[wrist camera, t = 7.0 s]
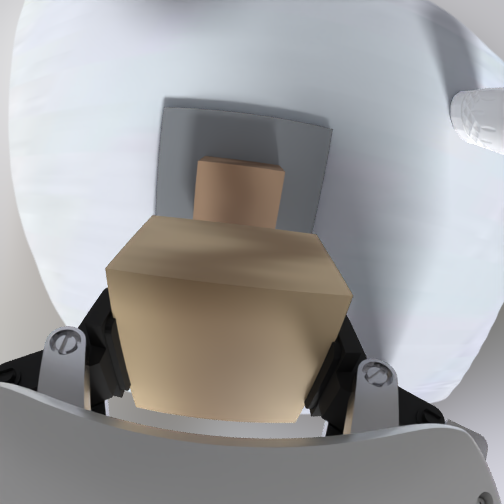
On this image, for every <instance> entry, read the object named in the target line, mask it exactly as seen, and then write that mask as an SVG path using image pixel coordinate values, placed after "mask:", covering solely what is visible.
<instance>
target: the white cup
mask: <svg viewBox="0 0 504 504" xmlns="http://www.w3.org/2000/svg"><path fill="white" fill-rule="evenodd" d="M450 117H451V120H452V124H453V127H454V129H455V131H456V132H457V134H458V135H459V137H460V138H461V139H463V140H464V141H466V142H468V143H471V144H475V145H478V146H480V147H483V148H486V149H489V150H491V151H494V152H497V153H500V154H503V155H504V87H503V88H484V89H476V90H471V91H460V92H458V93H457V94H456V95H455V96H454V97H453V99H452V102H451V105H450Z"/></svg>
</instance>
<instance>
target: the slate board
mask: <svg viewBox="0 0 504 504" xmlns="http://www.w3.org/2000/svg"><path fill="white" fill-rule="evenodd" d="M332 131H333V129H330V128H326V127H321V126H317V125H312V124H308V123H303V122H298V121H292V120H287V119H281V118H275V117H269V116H263V115H256V114H248V113H240V112H231V111H221V110H210V109H196V108H175V107H164V111H163V119H162V128H161V138H160V149H159V162H158V177H157V197H156V216H165V217H175V218H185V219H193V211H194V198H195V187H196V176H197V166H198V161H199V160H200V159H201V158H203V157H204V156H209V157H219V158H228V159H237V160H245V161H252V162H260V163H267V164H273V165H279V166H280V167H281V168H282V169H283V170H284V171H285V176H284V182H283V187H282V193H281V199H280V204H279V210H278V216H277V221H276V227H275V229H279V230H286V231H294V232H302V233H309V234H312V230H313V225H314V221H315V217H316V212H317V207H318V203H319V198H320V193H321V189H322V184H323V179H324V174H325V169H326V164H327V158H328V153H329V148H330V142H331V136H332Z"/></svg>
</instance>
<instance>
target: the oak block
mask: <svg viewBox="0 0 504 504" xmlns="http://www.w3.org/2000/svg"><path fill="white" fill-rule="evenodd" d="M105 269H106V277H107V284H108V291H109V297H110V303H111V309H112V314H113V318H116V323H117V328H118V333H119V338H120V342H121V347H122V351H123V355H124V360H125V364H126V368H127V372H128V375H129V379H130V383H131V386H130V389H131V392H132V395H133V398H134V402H135V405H136V407H139V408H143V409H148V410H153V411H158V412H163V413H169V414H175V415H181V416H188V417H195V418H204V419H213V420H224V421H237V422H259V423H295V422H296V420H297V419H298V417H299V415H300V413H301V411H302V409H303V407H304V405H305V404H304V401H305V399H306V397H307V395H308V393H309V391H310V389H311V387H312V385H313V383H314V381H315V379H316V377H317V375H318V373H319V371H320V368H321V366H322V364H323V362H324V360H325V357H326V355H327V353H328V351H329V348H330V346H331V344H332V342H335V340H336V338H337V335H338V333H339V331H340V328H341V326H342V323H343V321H344V318H345V316H346V313H347V311H348V308H349V305H350V303H351V300H352V297H353V295H352V293H351V291H350V289H349V288H348V286H347V284H346V283H345V281H344V279H343V277H342V276H341V274H340V272H339V271H338V269H337V267H336V266H335V264H334V262H333V261H332V259H331V257H330V256H329V254H328V252H327V251H326V249H325V248H324V246H323V244H322V243H321V241H320V240H319V238H318V236H317V235H316V234H309V233H302V232H294V231H286V230H279V229H271V228H263V227H255V226H247V225H238V224H230V223H221V222H212V221H203V220H194V219H185V218H175V217H165V216H155V215H152V216H151V218H150V219H149V220H148V221H147V222H146V223H145V224H144V225H143V226H142V227H141V228H140V229H139V230H138V231H137V233H136V234H135V235H134V236H133V237H132V238H131V239H130V240H129V241H128V243H127V244H126V245H125V246H124V247H123V248H122V249H121V251H120V252H119V253H118V254H117V255H116V256H115V257H114V259H113V260H112V261H111V262H110V263H109V265H108V266H107V267H106V268H105Z"/></svg>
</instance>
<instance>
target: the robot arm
mask: <svg viewBox="0 0 504 504" xmlns="http://www.w3.org/2000/svg"><path fill="white" fill-rule="evenodd" d="M130 386H131V383H130V379H129V375H128V372H127V368H126V364H125V360H124V355H123V351H122V347H121V342H120V338H119V333H118V328H117V323H116V318H113V314H112V309H111V303H110V297H109V291H108V288H105V289H104V291H103V292H102V293H101V295H100V296H99V298H98V299H97V300H96V302H95V303H94V305H93V306H92V308H91V309H90V311H89V312H88V314H87V315H86V317H85V318H84V320H83V321H82V323H81V324H80V326H79V327H78V328H76V327H71V326H66V327H60V328H58V329H56V330H54V331H53V332H51V333H50V334H49V336H48V337H47V339H46V342H45V346H44V350H41V351H38V352H35V353H32V354H29V355H26V356H24V357H21V358H18V359H15V360H12V361H9V362H6V363H3V364H1V365H0V504H501V501H500V497H499V495H498V491H497V488H496V485H495V482H494V479H493V477H492V474H491V472H490V469H489V467H488V465H487V463H486V456H487V450H488V445H487V442H486V440H485V439H484V437H483V436H481V435H480V434H478V433H476V432H474V431H472V430H469V429H467V428H465V427H463V426H461V425H459V424H457V423H455V422H453V421H451V420H449V419H447V420H446V421H445V420H444V417H443V415H442V413H441V412H440V410H439V409H437V408H436V407H435V406H433V405H431V404H429V403H428V402H426V401H424V400H422V399H420V398H418V397H416V396H415V395H413V394H411V393H409V392H407V391H406V390H404V389H402V388H400V387H398V380H397V374H396V372H395V370H394V369H393V368H392V367H391V366H390V365H389V364H388V363H386V362H384V361H382V360H379V359H373V358H371V359H367V358H366V355H365V353H364V351H363V349H362V346H361V344H360V342H359V340H358V338H357V335H356V333H355V331H354V329H353V327H352V325H351V323H350V321H349V318H348V317H347V315H346V316H345V318H344V321H343V323H342V326H341V328H340V331H339V333H338V335H337V338H336V340H335V342H332V344H331V346H330V348H329V351H328V353H327V355H326V357H325V360H324V362H323V364H322V366H321V368H320V371H319V373H318V375H317V377H316V379H315V381H314V383H313V385H312V387H311V389H310V391H309V393H308V395H307V397H306V399H305V401H304V404H305V407H306V408H307V409H310V413H311V416H321V417H322V418H323V419H324V420H325V424H324V428H323V432H322V436H321V437H314V438H291V439H255V438H234V437H221V436H210V435H201V434H192V433H186V432H178V431H173V430H167V429H161V428H156V427H151V426H146V425H141V424H137V423H133V422H129V421H124V420H121V419H117V418H113V417H109V408H108V399H109V398H111V397H112V396H117V397H122V396H123V393H124V390H126V391H128V390H129V389H130Z"/></svg>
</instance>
